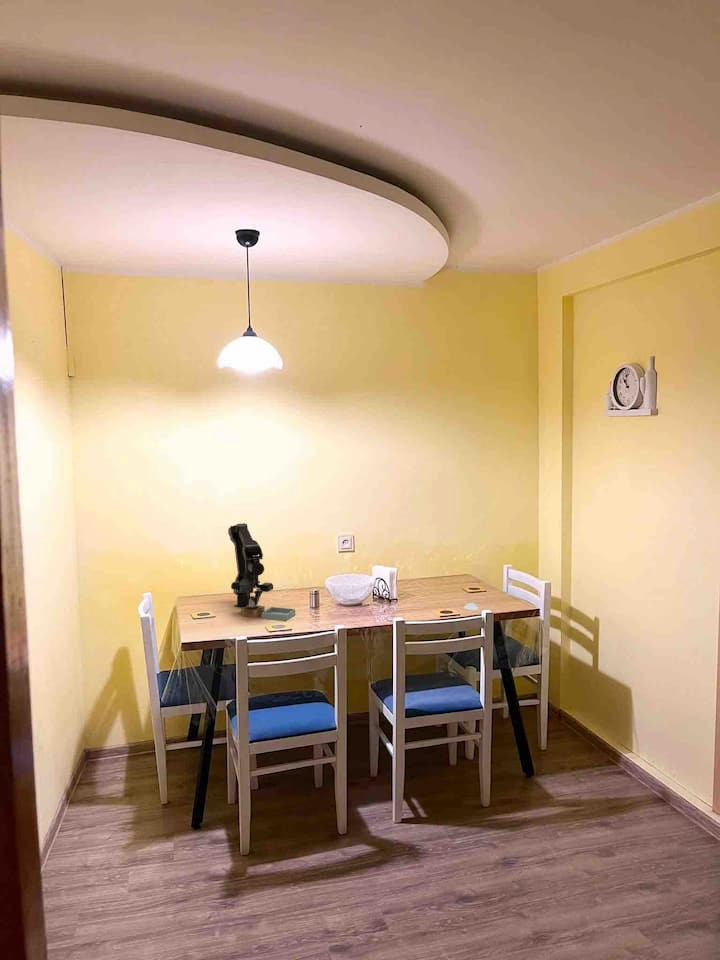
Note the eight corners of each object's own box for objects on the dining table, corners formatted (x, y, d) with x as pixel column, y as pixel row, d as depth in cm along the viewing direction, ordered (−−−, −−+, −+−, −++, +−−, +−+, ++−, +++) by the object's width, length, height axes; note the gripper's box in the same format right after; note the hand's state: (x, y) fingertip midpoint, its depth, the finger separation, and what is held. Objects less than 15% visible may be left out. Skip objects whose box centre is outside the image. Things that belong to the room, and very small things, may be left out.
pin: (251, 612, 303) (250, 595, 303) (257, 613, 302) (257, 596, 302) (247, 614, 300) (247, 597, 299) (254, 615, 299) (254, 598, 298)
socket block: (248, 610, 306) (248, 604, 306) (264, 612, 304) (264, 606, 304) (240, 615, 299) (240, 609, 298) (256, 617, 296) (256, 610, 296)
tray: (271, 612, 304) (271, 606, 304) (295, 614, 300) (295, 609, 300) (261, 618, 294) (261, 612, 294) (286, 620, 291) (286, 615, 290)
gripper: (224, 573, 295) (225, 607, 296) (262, 576, 289) (263, 611, 290) (236, 568, 305) (237, 601, 307) (273, 570, 300) (274, 604, 301)
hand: (252, 604), depth 301 cm, fingers closed on pin, 3 cm apart
